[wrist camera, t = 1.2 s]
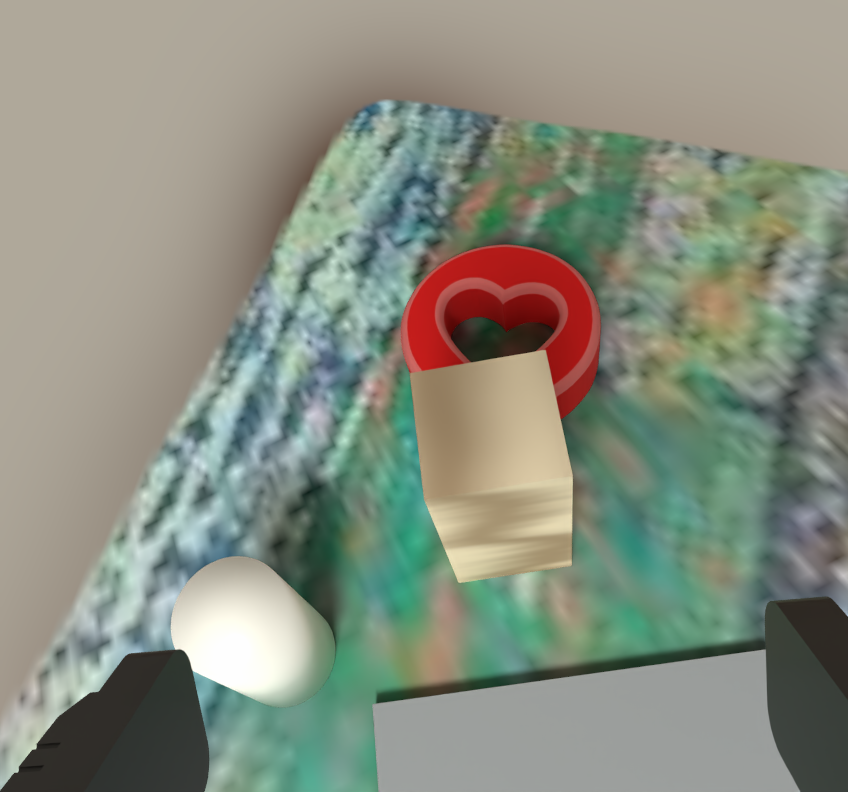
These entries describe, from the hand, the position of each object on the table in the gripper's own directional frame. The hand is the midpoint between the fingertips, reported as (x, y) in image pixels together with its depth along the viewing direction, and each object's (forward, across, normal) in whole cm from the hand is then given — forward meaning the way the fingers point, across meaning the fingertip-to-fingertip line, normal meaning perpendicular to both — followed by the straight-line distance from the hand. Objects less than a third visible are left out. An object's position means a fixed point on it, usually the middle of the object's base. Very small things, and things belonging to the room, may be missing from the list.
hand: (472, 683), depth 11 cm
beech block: (+25, -1, +8) cm, 26 cm away
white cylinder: (+21, +9, +12) cm, 26 cm away
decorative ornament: (+31, -2, +2) cm, 31 cm away
